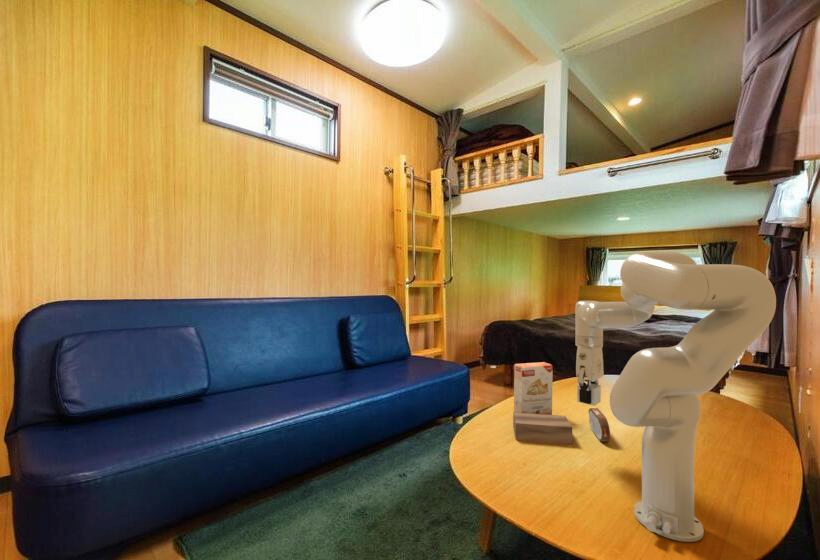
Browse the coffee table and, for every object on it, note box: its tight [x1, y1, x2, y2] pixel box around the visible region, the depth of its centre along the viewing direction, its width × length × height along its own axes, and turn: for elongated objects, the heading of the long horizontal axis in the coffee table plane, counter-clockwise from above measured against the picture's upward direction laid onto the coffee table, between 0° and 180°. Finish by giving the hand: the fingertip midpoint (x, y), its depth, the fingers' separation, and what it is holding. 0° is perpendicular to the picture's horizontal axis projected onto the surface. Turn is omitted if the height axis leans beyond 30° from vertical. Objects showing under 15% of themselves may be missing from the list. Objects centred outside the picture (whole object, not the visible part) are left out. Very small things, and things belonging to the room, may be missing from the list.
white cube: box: [576, 381, 602, 407], centre depth 108 cm, size 5×5×5 cm
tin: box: [588, 407, 611, 443], centre depth 123 cm, size 15×3×8 cm, turn 168°
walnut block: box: [512, 411, 573, 446], centre depth 123 cm, size 10×18×6 cm, turn 78°
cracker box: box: [513, 361, 554, 415], centre depth 140 cm, size 14×6×21 cm, turn 105°
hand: (588, 399), depth 108 cm, fingers closed on white cube, 5 cm apart
